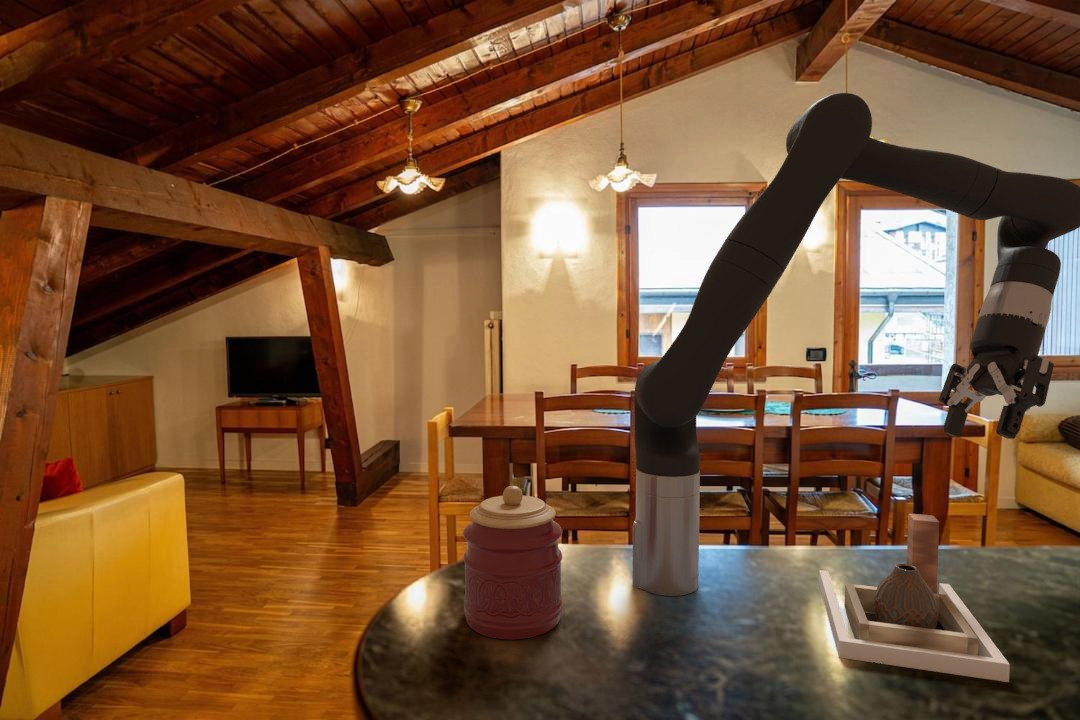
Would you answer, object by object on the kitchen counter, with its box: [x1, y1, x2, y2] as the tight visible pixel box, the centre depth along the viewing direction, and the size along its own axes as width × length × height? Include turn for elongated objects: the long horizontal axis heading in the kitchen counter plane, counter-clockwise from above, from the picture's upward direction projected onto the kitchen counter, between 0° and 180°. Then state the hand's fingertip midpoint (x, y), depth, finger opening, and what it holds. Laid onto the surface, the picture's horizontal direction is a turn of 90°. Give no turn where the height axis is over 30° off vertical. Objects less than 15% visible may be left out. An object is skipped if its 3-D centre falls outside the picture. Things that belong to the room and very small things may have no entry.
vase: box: [874, 563, 939, 629], centre depth 79 cm, size 7×7×9 cm
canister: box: [462, 485, 563, 640], centre depth 84 cm, size 13×13×18 cm
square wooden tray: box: [844, 513, 979, 656], centre depth 82 cm, size 12×18×12 cm
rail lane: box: [818, 569, 1011, 683], centre depth 82 cm, size 17×22×2 cm
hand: (977, 435), depth 84 cm, fingers open, 8 cm apart
